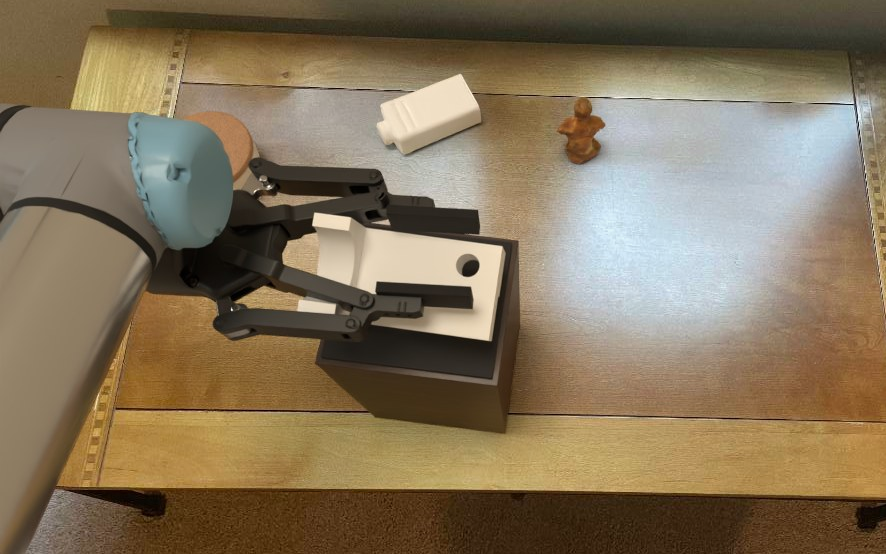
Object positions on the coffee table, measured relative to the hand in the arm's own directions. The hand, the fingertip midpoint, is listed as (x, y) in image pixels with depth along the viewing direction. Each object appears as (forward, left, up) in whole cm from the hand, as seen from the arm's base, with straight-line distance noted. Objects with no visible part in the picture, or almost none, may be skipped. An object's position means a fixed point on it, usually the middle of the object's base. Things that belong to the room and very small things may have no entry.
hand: (474, 259), depth 51 cm
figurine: (+31, -7, -35) cm, 47 cm away
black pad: (0, +5, -9) cm, 11 cm away
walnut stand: (0, +5, -34) cm, 35 cm away
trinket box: (+21, +37, -35) cm, 55 cm away
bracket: (-1, +5, -6) cm, 8 cm away
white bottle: (+33, +13, -35) cm, 49 cm away
